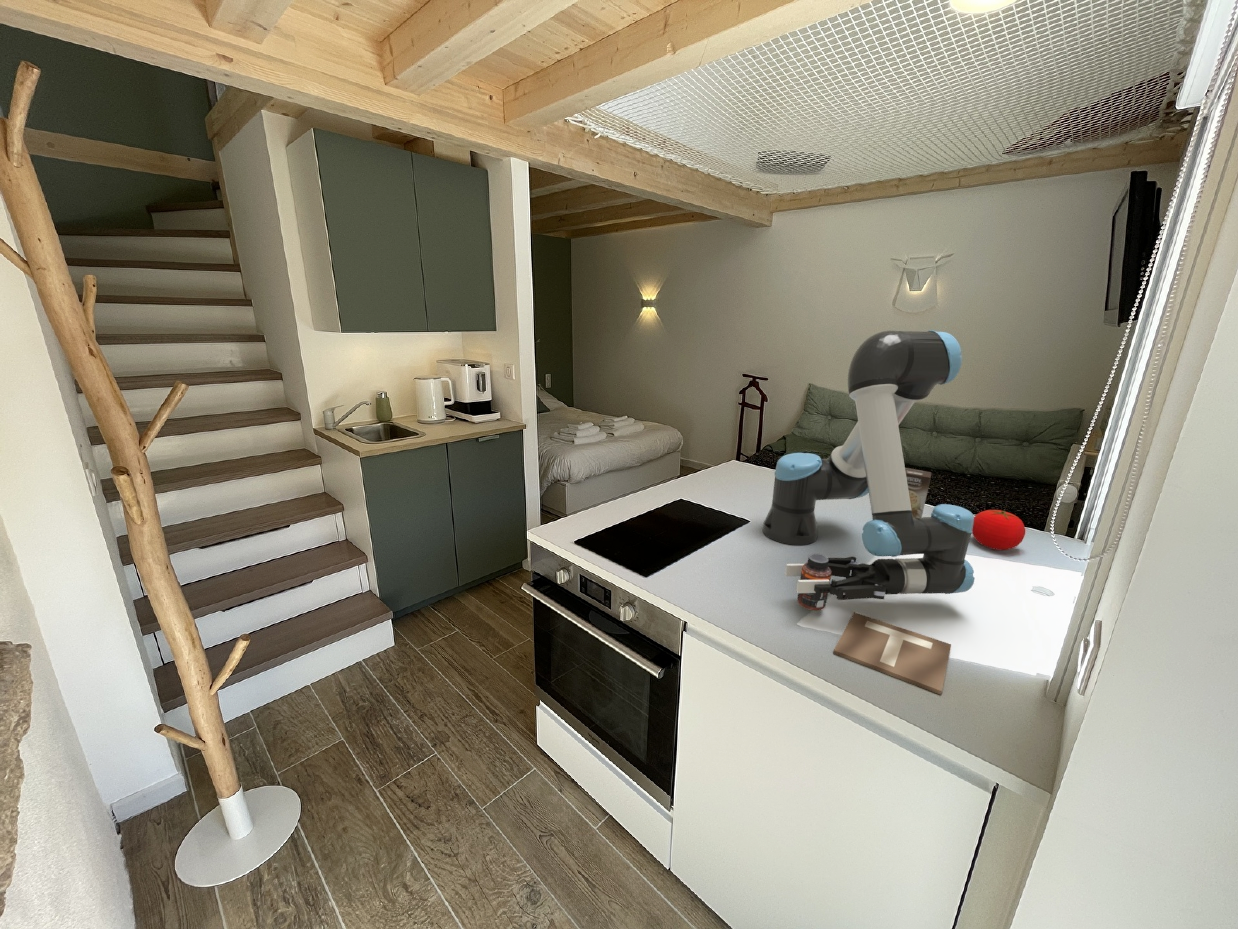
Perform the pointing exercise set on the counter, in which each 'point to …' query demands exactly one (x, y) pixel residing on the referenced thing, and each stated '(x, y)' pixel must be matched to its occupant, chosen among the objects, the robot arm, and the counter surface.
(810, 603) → the supplement bottle
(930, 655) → the letter board
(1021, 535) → the tomato
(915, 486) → the coffee box
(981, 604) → the counter surface
